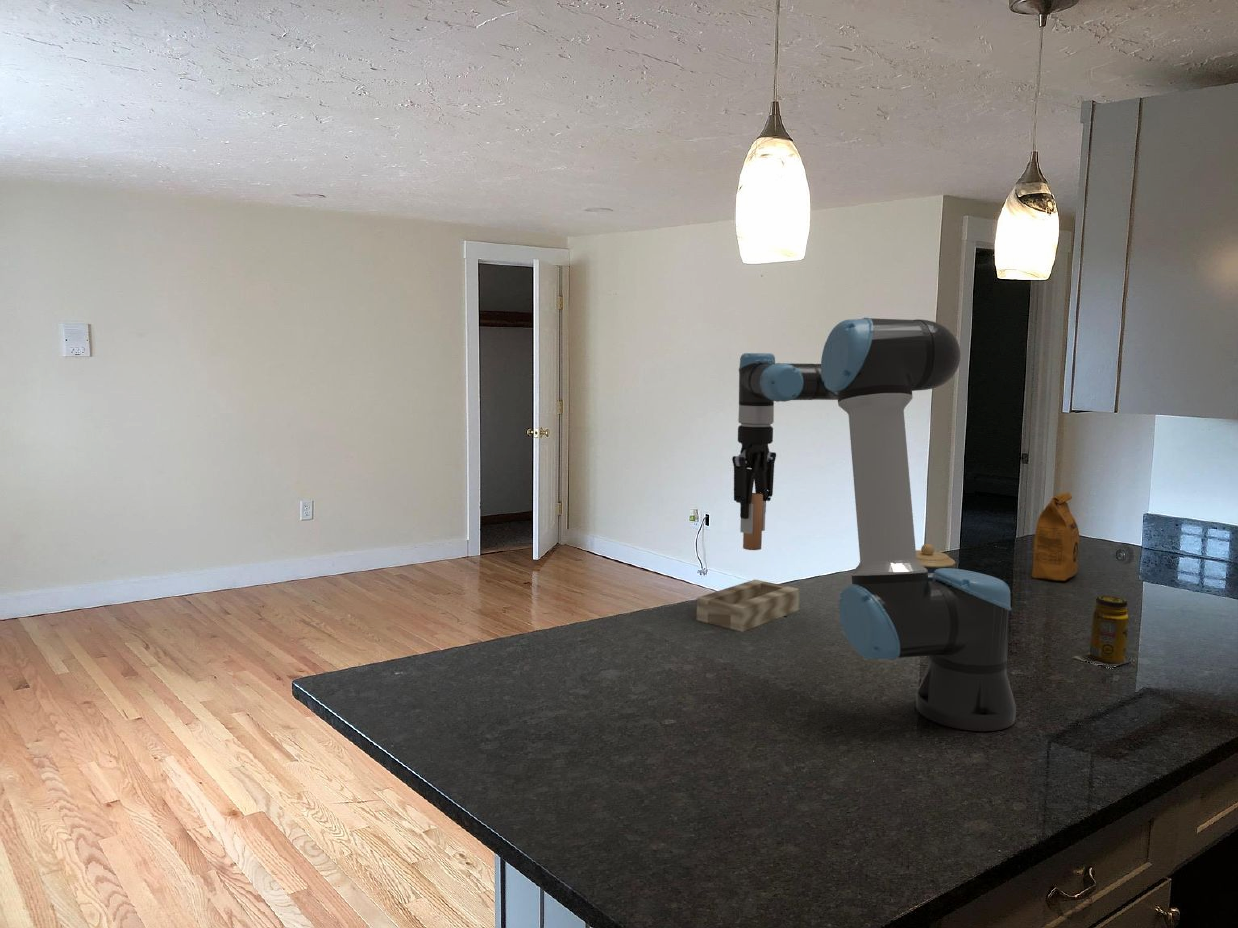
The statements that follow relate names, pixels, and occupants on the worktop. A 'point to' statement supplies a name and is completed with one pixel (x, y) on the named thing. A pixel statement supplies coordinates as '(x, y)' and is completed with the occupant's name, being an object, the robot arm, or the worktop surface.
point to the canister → (933, 560)
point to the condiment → (1108, 631)
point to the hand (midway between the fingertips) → (752, 531)
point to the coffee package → (1056, 541)
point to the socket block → (747, 605)
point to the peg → (755, 524)
